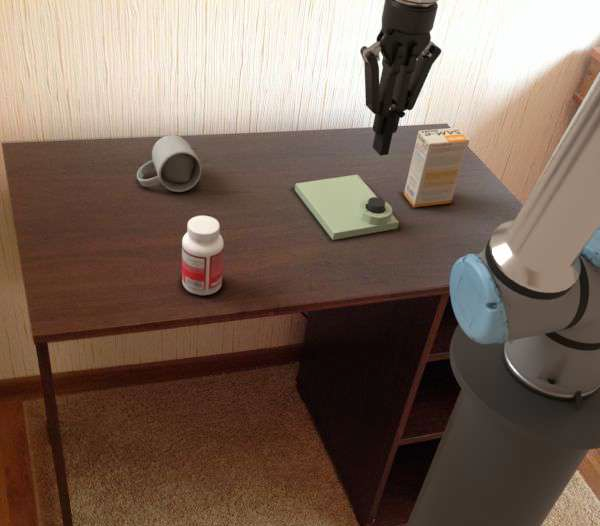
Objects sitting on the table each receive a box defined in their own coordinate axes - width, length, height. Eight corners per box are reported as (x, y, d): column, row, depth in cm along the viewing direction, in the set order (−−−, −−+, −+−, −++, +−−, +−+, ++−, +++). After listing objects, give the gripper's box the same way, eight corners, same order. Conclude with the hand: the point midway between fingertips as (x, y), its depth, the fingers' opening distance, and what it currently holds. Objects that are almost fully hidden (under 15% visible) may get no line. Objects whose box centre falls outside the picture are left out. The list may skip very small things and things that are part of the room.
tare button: (386, 212, 132) (388, 205, 131) (371, 215, 131) (373, 207, 130) (378, 203, 134) (380, 196, 133) (363, 206, 133) (365, 198, 132)
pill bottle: (217, 270, 120) (219, 210, 112) (225, 294, 116) (229, 235, 108) (178, 273, 118) (178, 213, 110) (186, 298, 114) (186, 238, 106)
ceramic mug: (189, 166, 140) (188, 127, 134) (202, 190, 135) (202, 150, 129) (132, 172, 136) (129, 133, 131) (143, 197, 132) (141, 157, 126)
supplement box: (440, 190, 145) (458, 126, 135) (451, 204, 142) (471, 139, 132) (401, 194, 142) (417, 129, 133) (412, 208, 139) (430, 143, 130)
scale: (397, 228, 134) (400, 214, 132) (332, 240, 129) (335, 225, 127) (356, 181, 143) (358, 166, 141) (294, 190, 139) (296, 175, 136)
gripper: (438, -15, 110) (403, 135, 128) (360, -12, 106) (334, 143, 123) (465, 5, 106) (425, 158, 123) (385, 9, 101) (355, 167, 119)
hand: (380, 150), depth 123 cm, fingers closed
